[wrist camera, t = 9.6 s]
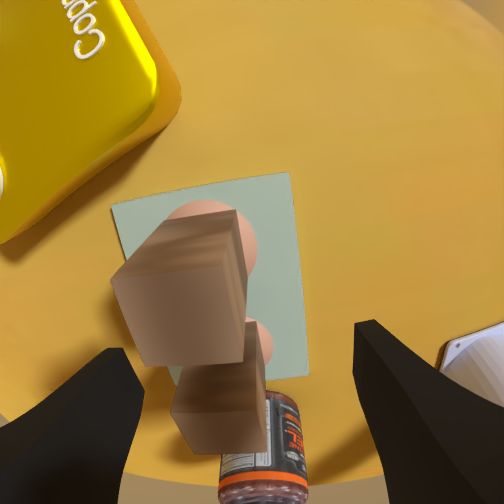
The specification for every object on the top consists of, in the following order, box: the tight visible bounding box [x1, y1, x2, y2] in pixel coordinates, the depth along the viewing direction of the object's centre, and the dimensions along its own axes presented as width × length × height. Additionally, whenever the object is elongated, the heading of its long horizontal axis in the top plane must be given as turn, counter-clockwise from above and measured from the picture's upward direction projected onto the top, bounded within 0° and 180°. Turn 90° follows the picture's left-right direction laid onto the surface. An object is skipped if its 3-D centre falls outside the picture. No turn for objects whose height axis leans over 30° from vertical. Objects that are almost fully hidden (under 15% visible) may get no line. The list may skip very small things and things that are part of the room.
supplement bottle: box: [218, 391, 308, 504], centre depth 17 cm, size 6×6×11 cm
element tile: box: [0, 0, 181, 244], centre depth 12 cm, size 15×15×5 cm
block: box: [170, 321, 267, 455], centre depth 16 cm, size 4×4×7 cm
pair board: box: [111, 172, 309, 386], centre depth 18 cm, size 10×14×1 cm
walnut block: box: [110, 209, 248, 367], centre depth 14 cm, size 4×4×7 cm
